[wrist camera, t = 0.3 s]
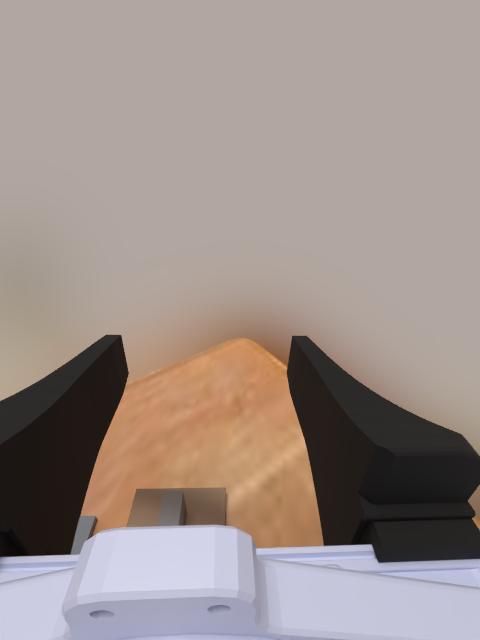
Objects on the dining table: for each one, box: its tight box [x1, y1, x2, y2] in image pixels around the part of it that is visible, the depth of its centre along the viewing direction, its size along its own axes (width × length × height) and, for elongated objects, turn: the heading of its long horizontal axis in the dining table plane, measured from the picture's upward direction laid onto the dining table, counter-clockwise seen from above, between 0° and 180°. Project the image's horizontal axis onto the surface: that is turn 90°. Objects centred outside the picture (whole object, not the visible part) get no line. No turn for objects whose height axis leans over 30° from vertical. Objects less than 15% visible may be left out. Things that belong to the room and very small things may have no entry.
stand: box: [127, 488, 226, 527], centre depth 19 cm, size 18×8×4 cm, turn 1°
